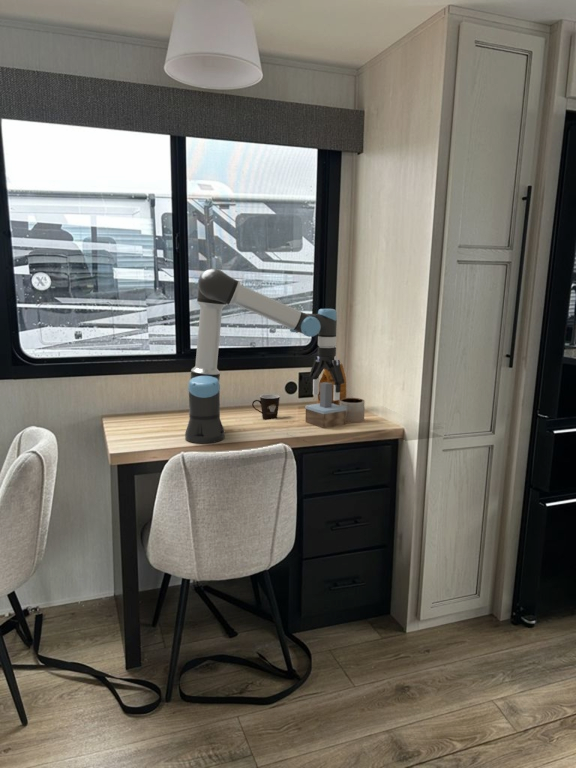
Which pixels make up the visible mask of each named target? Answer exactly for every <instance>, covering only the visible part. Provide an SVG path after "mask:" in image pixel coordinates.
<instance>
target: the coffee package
mask: <svg viewBox="0 0 576 768" xmlns="http://www.w3.org/2000/svg"><path fill="white" fill-rule="evenodd" d="M340 367H341V371H342V374H343V378H344V382H345V383H343V384H341V391H340V399H343V398H347V379H346V378H347V377H346V373H345V370H344V369H345V368H344V367H343V364H342V363H340ZM324 382H328V383H332V404H336V405H339V406H340V400H335V401H334V400H333V393H334V384H335V382H334V380H333V378H332V376H331V374H330V372H329V371H328V370H326V369H323V371H322V374H321V378H319V394H317V402H316V404H319V403H320V383H324ZM337 382H338V381H337Z"/></svg>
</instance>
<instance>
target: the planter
mask: <svg viewBox="0 0 576 768" xmlns="http://www.w3.org/2000/svg"><path fill="white" fill-rule="evenodd" d="M365 404H366V403H365V399H362V398H358V397H346V398H343V399H340V406H343V407H346V408H347V410H346V423H352V424H353V423H363V422H364V421H365Z"/></svg>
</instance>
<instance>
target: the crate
mask: <svg viewBox="0 0 576 768" xmlns="http://www.w3.org/2000/svg"><path fill="white" fill-rule="evenodd" d="M305 423H306V424H309V425H312V426H315V427H318V428H321V429H328V428H333V427H339V426H343V425H347V424H346V423H347V422H346V411H340V412H334V413H328V414H321V413H318V412H315V411H312V410H308V409H305Z"/></svg>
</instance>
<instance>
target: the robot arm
mask: <svg viewBox="0 0 576 768" xmlns="http://www.w3.org/2000/svg"><path fill="white" fill-rule="evenodd" d="M197 285H198V287H197V297H196V298H197V299H196V303H197V304H198V305H199V307H200V309H199V320H198V321H199V322H198V330H197V331H198V332H197V342H196V343H197V345H196V354H195V355H196V356H195V366H194V367H192V368H191V370H190V377H189V378H190V379H189V381H188V386H187V389H188V390H187V391H188V405H189V406H188V408H189V409H188V412H189V413H188V414H189V419H188V423H187V425H186V426H187V427H186V430H185V433H184V436H185V437H184V439H185V440H186V441H187V442H189V441H190V443H196V444H211V443H216V442H217V443H218V442H220V441H223V440H224V439H225V435H226V434H225V428H224V426H223V423H222V420H221V403H220V402H221V400H220V396H221V395H220V390H221V384H220V378H221V376H220V375H221V372H220V370H219V369H218V358H219V357H218V356H219V347H220V340H221V339H220V336H221V327H222V326H221V325H222V317H223V308H225V307H226V306H227V305H229V306H230V305H235V306H237V307H240V308H242V309H245V310H246V311H248V312H252V313H254V314H256V315H259V316H261V317H263V318H265V319H267V320H270V321H272V322H274V323H277V324H279V325H281V326H284V327H286V328H288V329H289V332H290V333H295V334H296V333H297V334H298V333H299V334H302V335H304V336H305V337H309V338H312V337H315V336H317V346H318V347H317V356H314V357H313V363H312V366H311V369H310V372H309V375H308V376H309V377H310V378H311V379H312V395H314V396H316V395H318V394H319V382H320V378H319V377H320V375H322V373H323V372H324V369H326V370H328V371H329V372H330V374H331V376H332V378H333V380H334V382H335V384H334V393H333V400H334V401H335V400H340V391H341V384H343V383H345V382H344V378H343V374H342V371H341V367H340V364H341V361H340V359H335V357H336V355H337V348H336V346H337V325H338V323H337V322H338V318H337V317H338V315H337V313H338V312H337V310H336V309H334V308H320V309H318V311H317V313H305V312H302V310H301V311H300V310H298V309H296V308H293V307H291V306H289V305H287V304H285V303H283V302H280V301H278V300H276V299H274V298H271V297H270V296H266V295H264V294H262V293H260V292H258V291H255V290H254V289H251V288H249V287H246V286H244V285H242V284H241V282H240V281H239V280H237V279H235V278H233V277H231V276H230V275H228V274H226V273H225V272H224V271H223V270H221V269H218V268H208V269H205V270H204V271H203V272H202V273H201V274H200V275H199V277H198V282H197ZM337 381H338V382H337Z"/></svg>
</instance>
